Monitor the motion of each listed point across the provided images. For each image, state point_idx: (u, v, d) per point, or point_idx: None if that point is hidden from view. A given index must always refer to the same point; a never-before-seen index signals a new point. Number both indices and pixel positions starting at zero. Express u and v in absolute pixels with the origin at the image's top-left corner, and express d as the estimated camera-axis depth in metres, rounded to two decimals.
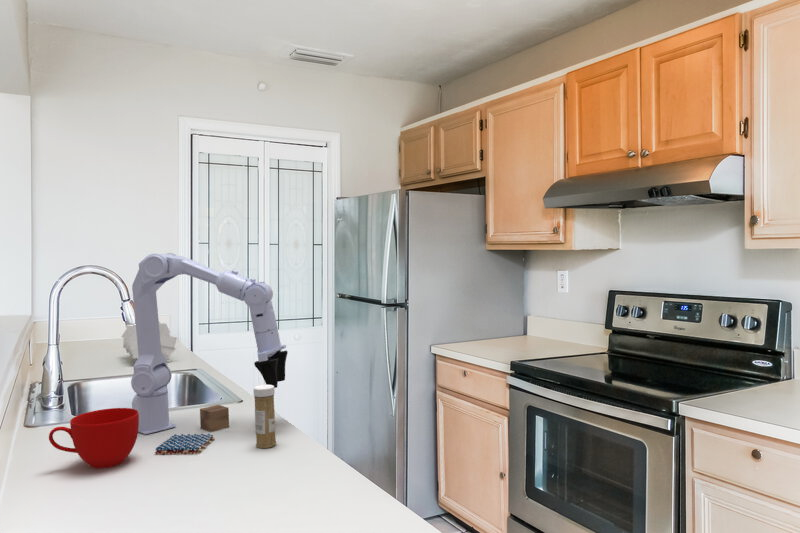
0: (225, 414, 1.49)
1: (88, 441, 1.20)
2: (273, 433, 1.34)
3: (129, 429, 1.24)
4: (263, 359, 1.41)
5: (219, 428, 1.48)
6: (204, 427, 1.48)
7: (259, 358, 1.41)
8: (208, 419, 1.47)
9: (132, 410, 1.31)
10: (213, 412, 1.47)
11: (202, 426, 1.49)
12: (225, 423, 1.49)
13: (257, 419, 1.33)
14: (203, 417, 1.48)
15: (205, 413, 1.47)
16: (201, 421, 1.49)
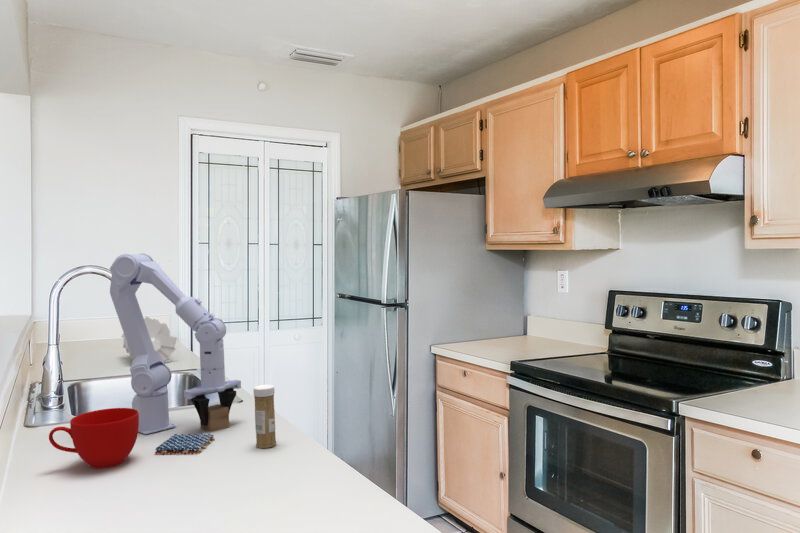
0: (225, 414, 1.49)
1: (88, 441, 1.20)
2: (273, 433, 1.34)
3: (129, 429, 1.24)
4: (186, 397, 1.44)
5: (219, 428, 1.48)
6: (204, 427, 1.48)
7: (184, 395, 1.44)
8: (208, 419, 1.47)
9: (132, 410, 1.31)
10: (213, 412, 1.47)
11: (202, 426, 1.49)
12: (225, 423, 1.49)
13: (257, 419, 1.33)
14: None
15: None
16: None
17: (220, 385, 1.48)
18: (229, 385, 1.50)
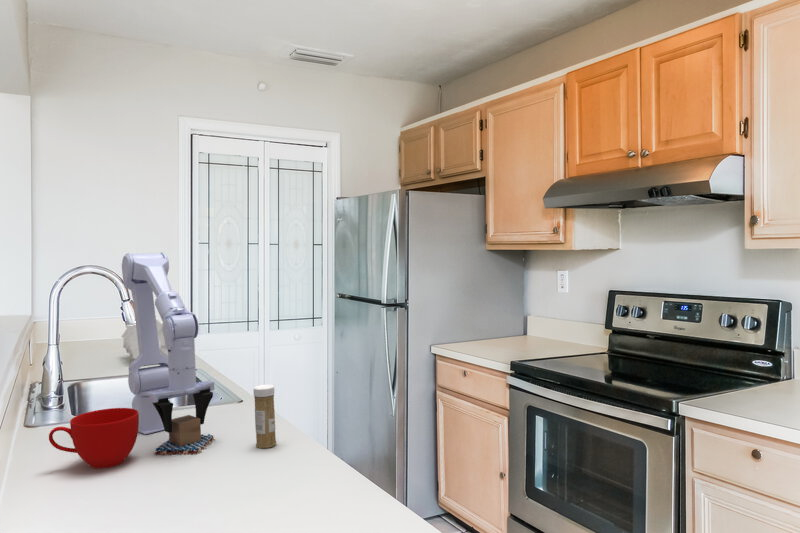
0: (196, 426, 1.35)
1: (88, 441, 1.20)
2: (273, 433, 1.34)
3: (129, 429, 1.24)
4: (151, 400, 1.30)
5: (190, 441, 1.34)
6: (173, 440, 1.34)
7: (150, 397, 1.30)
8: (177, 431, 1.32)
9: (132, 410, 1.31)
10: (183, 424, 1.32)
11: (171, 439, 1.34)
12: (197, 436, 1.35)
13: (257, 419, 1.33)
14: (172, 430, 1.34)
15: (174, 424, 1.33)
16: (170, 434, 1.35)
17: (190, 387, 1.33)
18: (201, 387, 1.36)
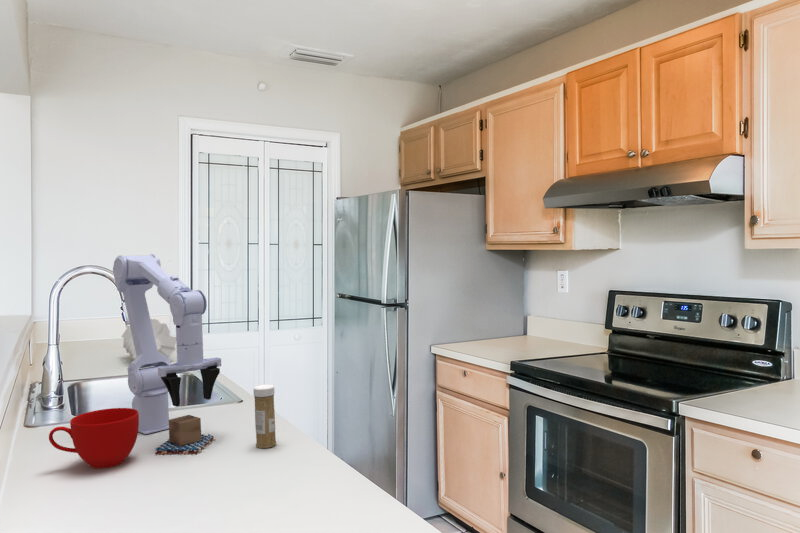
0: (197, 425, 1.35)
1: (88, 441, 1.20)
2: (273, 433, 1.34)
3: (129, 429, 1.24)
4: (160, 374, 1.33)
5: (190, 441, 1.34)
6: (173, 440, 1.34)
7: (158, 372, 1.33)
8: (178, 431, 1.32)
9: (132, 410, 1.31)
10: (183, 423, 1.32)
11: (171, 439, 1.34)
12: (197, 436, 1.35)
13: (257, 419, 1.33)
14: (172, 429, 1.34)
15: (175, 424, 1.33)
16: (170, 433, 1.35)
17: (197, 362, 1.36)
18: (208, 362, 1.39)
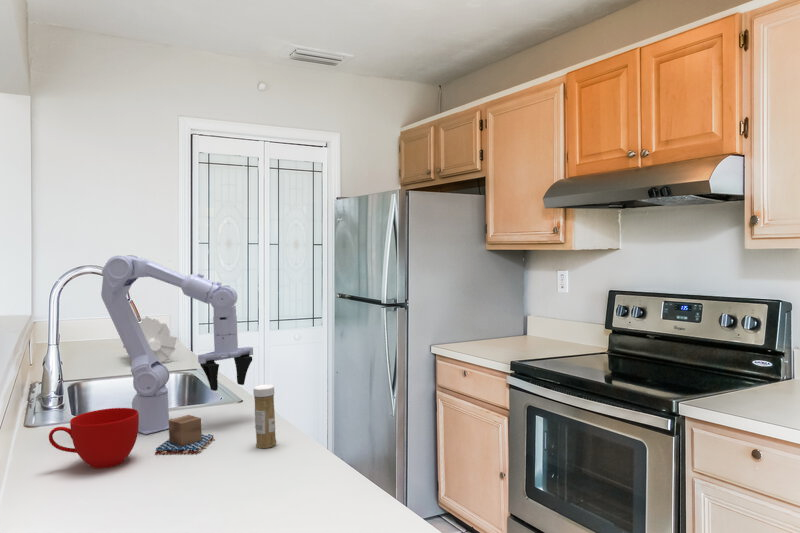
0: (197, 425, 1.35)
1: (88, 441, 1.20)
2: (273, 433, 1.34)
3: (129, 429, 1.24)
4: (200, 361, 1.47)
5: (191, 441, 1.34)
6: (173, 440, 1.34)
7: (198, 359, 1.47)
8: (179, 431, 1.32)
9: (132, 410, 1.31)
10: (184, 423, 1.32)
11: (171, 439, 1.34)
12: (197, 435, 1.35)
13: (256, 419, 1.33)
14: (172, 430, 1.34)
15: (175, 424, 1.33)
16: (170, 434, 1.34)
17: (233, 350, 1.50)
18: (242, 351, 1.53)
